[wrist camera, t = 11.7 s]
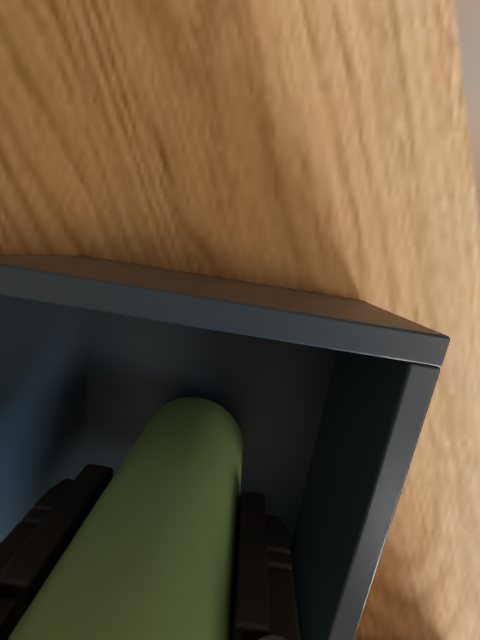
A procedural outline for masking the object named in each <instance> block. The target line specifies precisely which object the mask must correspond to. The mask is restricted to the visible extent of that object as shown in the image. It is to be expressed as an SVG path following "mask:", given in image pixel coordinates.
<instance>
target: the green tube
mask: <svg viewBox="0 0 480 640" xmlns="http://www.w3.org/2000/svg"><path fill="white" fill-rule="evenodd" d="M242 456H243V438H242V433H241V430H240V428H239V426H238V424H237V422H236V421H235V419H234V418H233V416H232V415H231V414H230V413H229V412H228V411H227V410H225V409H224V408H223V407H221V406H220V405H218V404H216V403H214V402H212V401H210V400H207V399H202V398H196V397H186V398H180V399H176V400H173V401H171V402H168V403H167V404H165V405H163V406H162V407H161V408H159V409H158V410H157V411H156V412H155V413H154V414H153V416H152V417H151V419H150V420H149V422H148V423H147V425H146V426H145V428H144V429H143V431H142V433H141V434H140V436H139V437H138V439H137V440H136V442H135V443H134V445H133V446H132V448H131V450H130V451H129V453H128V454H127V456H126V457H125V459H124V460H123V462H122V463H121V465H120V467H119V468H118V470H117V471H116V473H115V474H114V476H113V477H112V479H111V480H110V482H109V484H108V485H107V487H106V488H105V490H104V491H103V493H102V494H101V496H100V497H99V499H98V501H97V502H96V504H95V505H94V507H93V508H92V510H91V511H90V513H89V514H88V516H87V517H86V519H85V521H84V522H83V524H82V525H81V527H80V528H79V530H78V531H77V533H76V534H75V536H74V538H73V539H72V541H71V542H70V544H69V545H68V547H67V548H66V550H65V551H64V553H63V555H62V556H61V558H60V559H59V561H58V562H57V564H56V565H55V567H54V568H53V570H52V572H51V573H50V575H49V576H48V578H47V579H46V581H45V582H44V584H43V585H42V587H41V589H40V590H39V592H38V593H37V595H36V596H35V598H34V599H33V601H32V602H31V604H30V606H29V607H28V609H27V610H26V612H25V613H24V615H23V616H22V618H21V619H20V621H19V622H18V624H17V626H16V627H15V629H14V630H13V632H12V633H11V635H10V636H9V638H8V639H7V640H230V637H231V622H232V606H233V591H234V576H235V560H236V545H237V530H238V514H239V502H240V487H241V471H242Z"/></svg>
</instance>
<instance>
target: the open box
mask: <svg viewBox="0 0 480 640" xmlns="http://www.w3.org/2000/svg"><path fill="white" fill-rule="evenodd" d="M449 341H450V338H449V337H448V336H446V335H444V334H441V333H439V332H436V331H434V330H432V329H429V328H427V327H424V326H422V325H420V324H417V323H415V322H412V321H410V320H407V319H405V318H403V317H400V316H398V315H395V314H393V313H391V312H388V311H386V310H383V309H381V308H379V307H376V306H374V305H371V304H369V303H367V302H364V301H362V300H356V299H349V298H343V297H337V296H331V295H325V294H318V293H312V292H306V291H300V290H293V289H287V288H281V287H275V286H269V285H262V284H256V283H250V282H244V281H238V280H231V279H225V278H219V277H213V276H206V275H200V274H194V273H188V272H182V271H175V270H169V269H163V268H157V267H151V266H144V265H138V264H132V263H126V262H119V261H113V260H107V259H101V258H95V257H88V256H22V255H0V543H1V542H2V541H3V540H4V539H5V538H6V536H7V535H8V534H9V533H10V532H11V531H12V530H13V529H14V527H15V526H16V525H17V524H18V523H19V522H21V521H22V519H23V517H24V516H25V515H26V514H27V513H28V512H29V511H30V509H31V508H32V509H33V507H34V505H35V504H36V503H37V502H38V500H39V499H40V498H41V497H42V496H43V495H44V494H45V493H46V491H47V490H49V489H50V488H52V487H53V486H55V485H56V484H58V483H59V482H61V481H62V480H64V479H71V480H75V478H76V477H77V476H78V475H79V473H80V472H81V471H82V470H83V469H84V467H85V466H86V465H88V464H94V465H100V466H106V467H111V468H113V476H114V474H115V473H116V471H117V470H118V468H119V467H120V465H121V463H122V462H123V460H124V459H125V457H126V456H127V454H128V453H129V451H130V450H131V448H132V446H133V445H134V443H135V442H136V440H137V439H138V437H139V436H140V434H141V433H142V431H143V429H144V428H145V426H146V425H147V423H148V422H149V420H150V419H151V417H152V416H153V414H154V413H155V412H156V411H157V410H158V409H159V408H161V407H162V406H163V405H165V404H167V403H168V402H171V401H173V400H176V399H180V398H186V397H196V398H202V399H207V400H210V401H212V402H214V403H216V404H218V405H220V406H221V407H223V408H224V409H225V410H227V411H228V412H229V413H230V414H231V415H232V416H233V418H234V419H235V421H236V422H237V424H238V426H239V428H240V430H241V433H242V438H243V456H242V471H241V487H240V497H241V492H242V491H247V492H253V493H259V494H264V495H265V513H266V514H268V515H274V516H279V517H280V519H281V520H282V522H283V524H284V526H285V528H286V530H287V532H288V538H289V546H290V555H291V563H292V572H293V580H294V589H295V597H296V606H297V614H298V623H299V631H300V639H301V640H354V638H355V635H356V632H357V629H358V626H359V622H360V619H361V616H362V613H363V610H364V607H365V604H366V601H367V597H368V594H369V591H370V588H371V585H372V582H373V579H374V576H375V572H376V569H377V566H378V563H379V560H380V557H381V554H382V551H383V547H384V544H385V541H386V538H387V535H388V532H389V529H390V526H391V522H392V519H393V516H394V513H395V510H396V507H397V504H398V501H399V497H400V494H401V491H402V488H403V485H404V482H405V479H406V476H407V472H408V469H409V466H410V463H411V460H412V457H413V454H414V451H415V447H416V444H417V441H418V438H419V435H420V432H421V429H422V426H423V422H424V419H425V416H426V413H427V410H428V407H429V404H430V400H431V397H432V394H433V391H434V388H435V385H436V382H437V379H438V375H439V372H440V368H439V366H441V365H442V363H443V360H444V357H445V354H446V351H447V348H448V344H449Z"/></svg>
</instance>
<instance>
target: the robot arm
mask: <svg viewBox="0 0 480 640" xmlns="http://www.w3.org/2000/svg"><path fill="white" fill-rule="evenodd" d="M112 477H113V468H111V467H106V466H100V465H94V464H88V465H86V466H85V467H84V469H83V470H82V471H81V472H80V473H79V475H78V476H77V477H76V478H75V480H71V479H64V480H62V481H61V482H59V483H58V484H56V485H55V486H53V487H52V488H50V489H49V490H47V491H46V493H45V494H44V495H43V496H42V497H41V498H40V499H39V500H38V502H37V503H36V504H35V505H34V507H33V509H32V508H31V509H30V511H29V512H28V513H27V514H26V515H25V516H24V517H23V519H22V521H21V522H19V523H18V524H17V525H16V526H15V527H14V529H13V530H12V531H11V532H10V533H9V534H8V535H7V536H6V538H5V539H4V540H3V541H2V542H1V543H0V640H7V639H8V638H9V636H10V635H11V633H12V632H13V630H14V629H15V627H16V626H17V624H18V622H19V621H20V619H21V618H22V616H23V615H24V613H25V612H26V610H27V609H28V607H29V606H30V604H31V602H32V601H33V599H34V598H35V596H36V595H37V593H38V592H39V590H40V589H41V587H42V585H43V584H44V582H45V581H46V579H47V578H48V576H49V575H50V573H51V572H52V570H53V568H54V567H55V565H56V564H57V562H58V561H59V559H60V558H61V556H62V555H63V553H64V551H65V550H66V548H67V547H68V545H69V544H70V542H71V541H72V539H73V538H74V536H75V534H76V533H77V531H78V530H79V528H80V527H81V525H82V524H83V522H84V521H85V519H86V517H87V516H88V514H89V513H90V511H91V510H92V508H93V507H94V505H95V504H96V502H97V501H98V499H99V497H100V496H101V494H102V493H103V491H104V490H105V488H106V487H107V485H108V484H109V482H110V480H111V479H112ZM230 640H301V639H300V631H299V623H298V614H297V606H296V597H295V589H294V580H293V572H292V563H291V555H290V546H289V538H288V532H287V530H286V528H285V526H284V524H283V522H282V520H281V519H280V517H279V516H274V515H268V514H266V513H265V495H264V494H259V493H253V492H247V491H242V492H241V497H240V502H239V514H238V530H237V545H236V560H235V576H234V591H233V606H232V622H231V637H230Z"/></svg>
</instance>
